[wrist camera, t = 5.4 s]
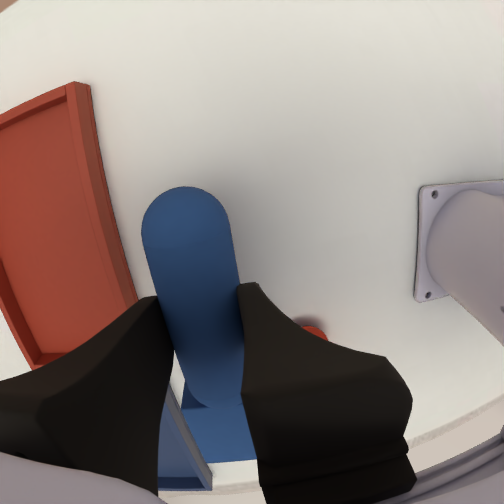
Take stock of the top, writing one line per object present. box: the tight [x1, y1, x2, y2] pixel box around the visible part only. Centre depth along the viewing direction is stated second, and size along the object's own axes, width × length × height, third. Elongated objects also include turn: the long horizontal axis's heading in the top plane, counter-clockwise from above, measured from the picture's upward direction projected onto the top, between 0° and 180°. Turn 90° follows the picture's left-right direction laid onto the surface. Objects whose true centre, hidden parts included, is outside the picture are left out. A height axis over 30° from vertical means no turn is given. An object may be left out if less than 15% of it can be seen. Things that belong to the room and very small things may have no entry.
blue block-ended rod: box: [141, 186, 257, 463], centre depth 12 cm, size 13×4×3 cm, turn 8°
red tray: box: [0, 81, 138, 370], centre depth 17 cm, size 10×17×2 cm, turn 8°
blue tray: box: [158, 384, 213, 491], centre depth 23 cm, size 10×17×2 cm, turn 8°
